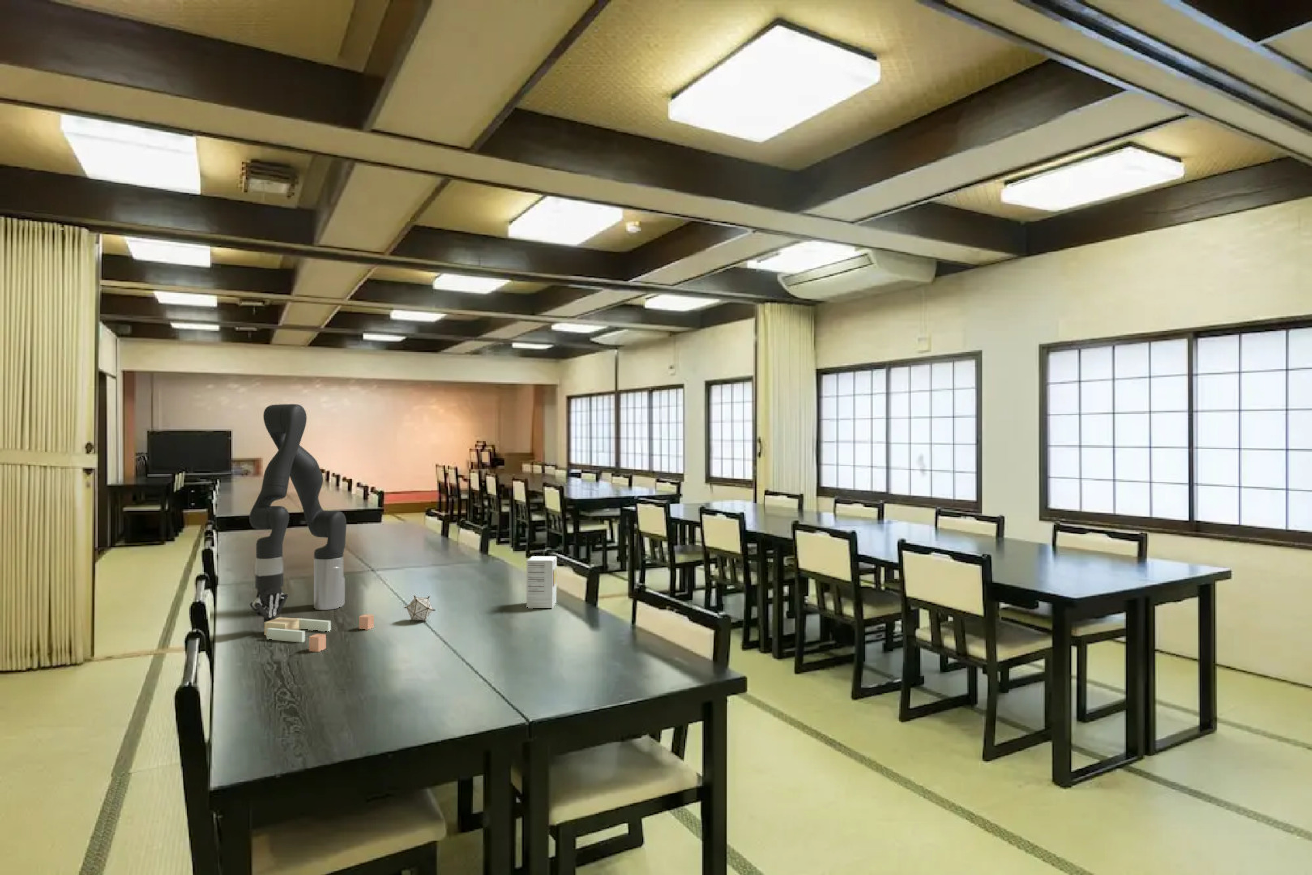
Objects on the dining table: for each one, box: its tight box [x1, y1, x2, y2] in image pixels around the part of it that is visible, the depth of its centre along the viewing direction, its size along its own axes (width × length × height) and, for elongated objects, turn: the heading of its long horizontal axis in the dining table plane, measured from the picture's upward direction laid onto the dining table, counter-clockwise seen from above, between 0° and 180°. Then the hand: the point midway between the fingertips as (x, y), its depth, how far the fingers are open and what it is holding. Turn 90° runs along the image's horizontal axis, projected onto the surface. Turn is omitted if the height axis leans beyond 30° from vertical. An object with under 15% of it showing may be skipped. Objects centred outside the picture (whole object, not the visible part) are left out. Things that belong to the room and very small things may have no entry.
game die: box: [403, 595, 436, 623], centre depth 230 cm, size 9×8×10 cm
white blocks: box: [266, 617, 332, 643], centre depth 214 cm, size 12×12×3 cm
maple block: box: [263, 616, 300, 637], centre depth 215 cm, size 6×7×4 cm
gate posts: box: [308, 614, 375, 653], centre depth 210 cm, size 25×3×4 cm, turn 167°
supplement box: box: [526, 555, 558, 609], centre depth 252 cm, size 10×9×17 cm
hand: (269, 628), depth 216 cm, fingers closed
